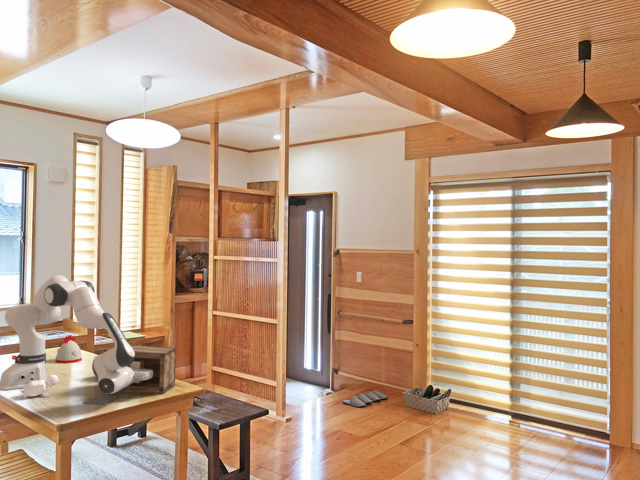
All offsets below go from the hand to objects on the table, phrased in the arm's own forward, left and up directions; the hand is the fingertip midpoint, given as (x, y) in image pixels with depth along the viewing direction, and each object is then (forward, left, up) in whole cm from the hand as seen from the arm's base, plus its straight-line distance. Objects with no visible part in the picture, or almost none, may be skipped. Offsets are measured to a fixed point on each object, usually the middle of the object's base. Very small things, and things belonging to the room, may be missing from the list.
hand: (137, 369), depth 247 cm
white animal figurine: (-36, +21, -10) cm, 43 cm away
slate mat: (-20, -5, -10) cm, 23 cm away
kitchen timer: (+3, +81, -10) cm, 82 cm away
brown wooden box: (+2, +2, -10) cm, 10 cm away
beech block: (-1, -1, -5) cm, 6 cm away
